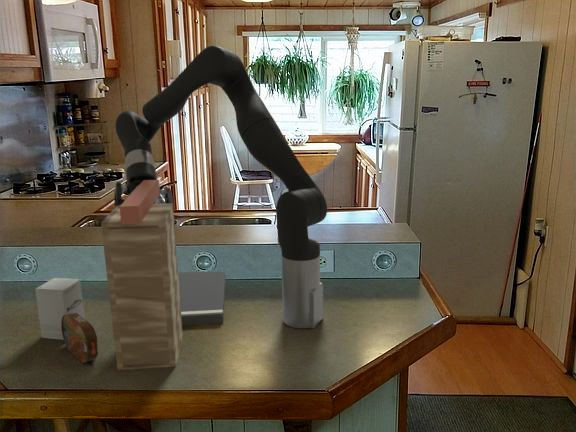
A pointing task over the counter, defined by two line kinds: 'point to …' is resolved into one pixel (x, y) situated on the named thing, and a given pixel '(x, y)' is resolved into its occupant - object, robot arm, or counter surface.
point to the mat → (202, 297)
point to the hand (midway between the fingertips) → (147, 220)
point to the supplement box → (58, 304)
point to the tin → (79, 337)
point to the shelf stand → (143, 288)
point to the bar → (139, 202)
